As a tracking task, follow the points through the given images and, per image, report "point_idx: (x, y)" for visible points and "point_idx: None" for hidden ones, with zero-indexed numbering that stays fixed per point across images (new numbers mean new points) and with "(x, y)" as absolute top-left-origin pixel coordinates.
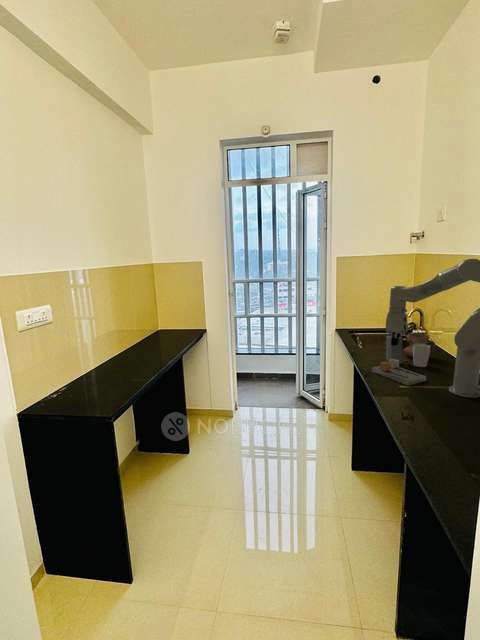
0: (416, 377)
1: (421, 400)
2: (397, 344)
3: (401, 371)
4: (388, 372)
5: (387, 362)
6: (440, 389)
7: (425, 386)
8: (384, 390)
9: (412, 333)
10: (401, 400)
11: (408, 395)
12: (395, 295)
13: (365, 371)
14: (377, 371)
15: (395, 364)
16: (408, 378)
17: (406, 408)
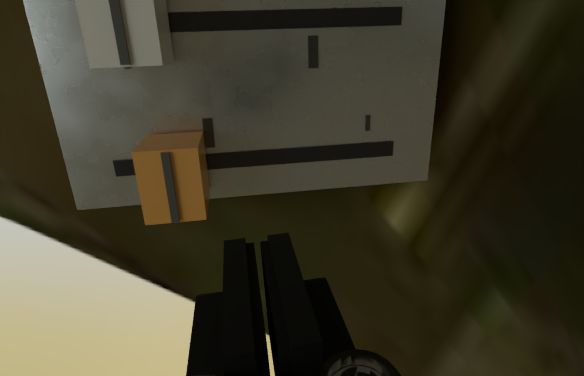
0: (420, 72)
1: (555, 263)
2: (288, 241)
3: (263, 59)
4: (238, 180)
5: (171, 165)
6: (562, 36)
7: (480, 80)
8: (386, 331)
9: None
10: (499, 337)
11: (490, 273)
12: None
13: (68, 231)
14: None
15: (166, 39)
16: (400, 147)
17: (549, 367)
